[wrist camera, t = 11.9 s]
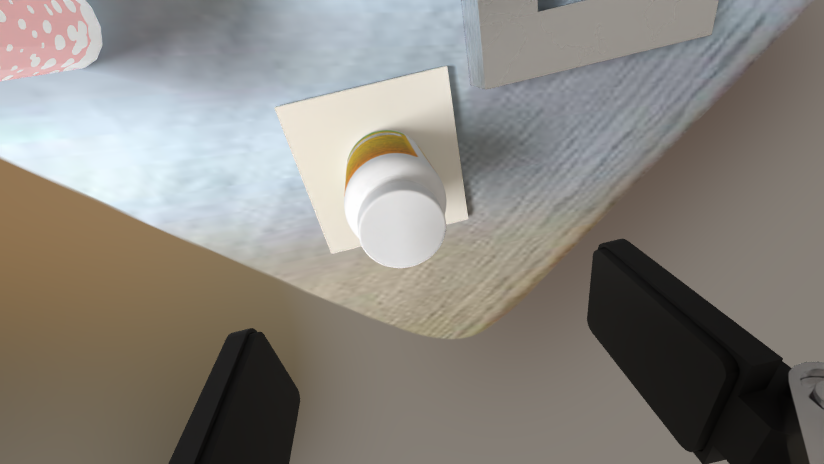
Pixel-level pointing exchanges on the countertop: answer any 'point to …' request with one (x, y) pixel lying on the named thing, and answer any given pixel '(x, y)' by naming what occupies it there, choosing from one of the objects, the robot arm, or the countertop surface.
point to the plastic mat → (356, 117)
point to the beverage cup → (46, 37)
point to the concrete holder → (571, 34)
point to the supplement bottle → (394, 199)
